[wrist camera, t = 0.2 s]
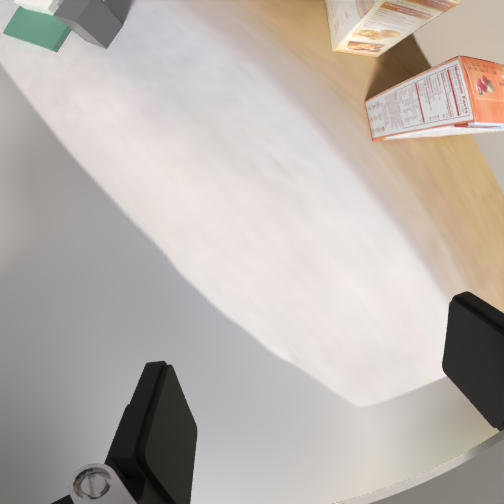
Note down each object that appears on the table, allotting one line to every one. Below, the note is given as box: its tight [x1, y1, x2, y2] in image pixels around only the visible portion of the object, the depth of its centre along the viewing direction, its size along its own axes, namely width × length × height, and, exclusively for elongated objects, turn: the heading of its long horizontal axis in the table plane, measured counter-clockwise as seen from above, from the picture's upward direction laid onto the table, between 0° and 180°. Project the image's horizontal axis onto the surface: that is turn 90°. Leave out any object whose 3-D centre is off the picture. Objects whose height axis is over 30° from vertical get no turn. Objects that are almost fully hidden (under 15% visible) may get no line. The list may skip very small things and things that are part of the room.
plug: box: [53, 0, 123, 49], centre depth 26 cm, size 4×5×10 cm
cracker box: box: [365, 56, 504, 141], centre depth 26 cm, size 14×6×21 cm, turn 101°
